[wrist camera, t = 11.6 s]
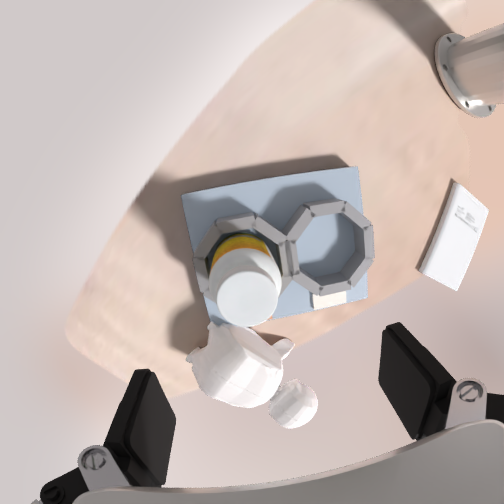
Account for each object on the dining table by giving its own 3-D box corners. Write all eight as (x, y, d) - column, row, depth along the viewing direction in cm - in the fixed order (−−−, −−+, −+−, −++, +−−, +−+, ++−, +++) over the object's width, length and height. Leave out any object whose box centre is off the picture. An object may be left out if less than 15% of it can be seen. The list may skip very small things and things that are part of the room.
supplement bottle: (280, 264, 28) (304, 308, 19) (235, 294, 29) (238, 349, 20) (248, 218, 27) (258, 243, 18) (202, 252, 27) (188, 292, 18)
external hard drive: (415, 269, 33) (451, 181, 30) (450, 287, 34) (482, 209, 31) (422, 274, 31) (459, 182, 28) (457, 292, 33) (490, 210, 30)
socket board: (349, 166, 28) (369, 166, 24) (360, 290, 32) (377, 307, 28) (184, 193, 28) (176, 197, 23) (213, 321, 32) (211, 343, 27)
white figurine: (201, 348, 36) (293, 414, 34) (168, 376, 28) (282, 455, 26) (235, 298, 35) (336, 370, 32) (207, 318, 26) (336, 409, 24)
